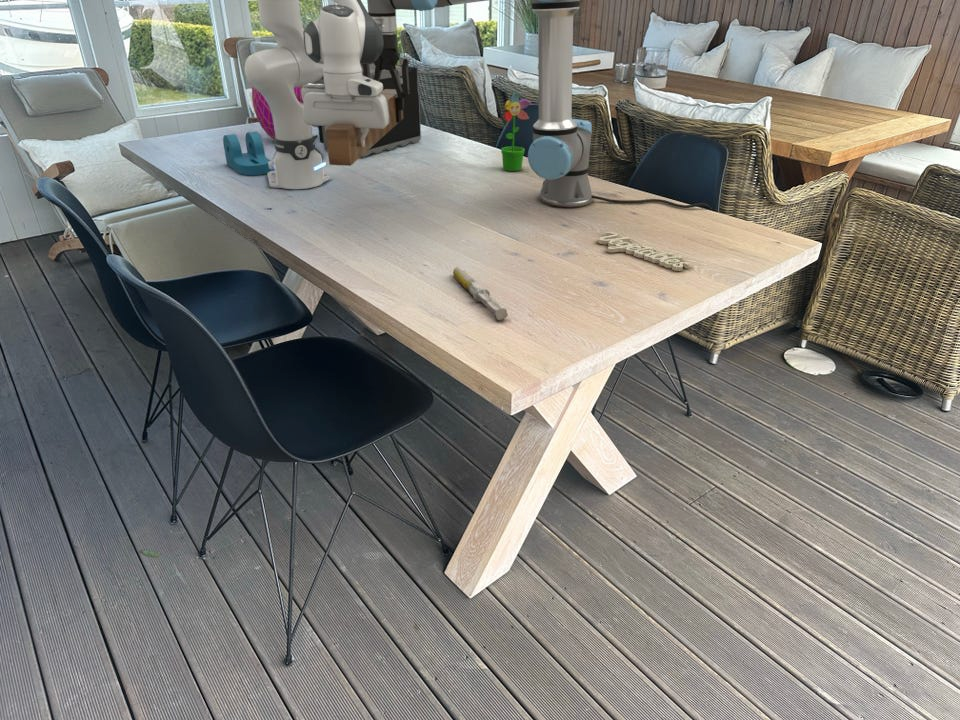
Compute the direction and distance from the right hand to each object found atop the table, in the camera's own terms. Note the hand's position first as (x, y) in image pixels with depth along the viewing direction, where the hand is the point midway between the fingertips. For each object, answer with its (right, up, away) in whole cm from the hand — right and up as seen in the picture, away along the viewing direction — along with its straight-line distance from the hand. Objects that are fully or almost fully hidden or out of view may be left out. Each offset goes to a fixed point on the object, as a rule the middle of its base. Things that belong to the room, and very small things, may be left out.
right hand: (389, 121), depth 200 cm
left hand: (-5, -18, -34) cm, 39 cm away
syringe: (+26, -56, -55) cm, 83 cm away
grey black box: (-14, +11, +58) cm, 61 cm away
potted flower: (+38, -5, +32) cm, 50 cm away
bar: (-3, -10, -16) cm, 19 cm away
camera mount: (-50, -6, +29) cm, 58 cm away
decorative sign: (+65, -44, -33) cm, 85 cm away
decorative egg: (-49, +15, +65) cm, 83 cm away
